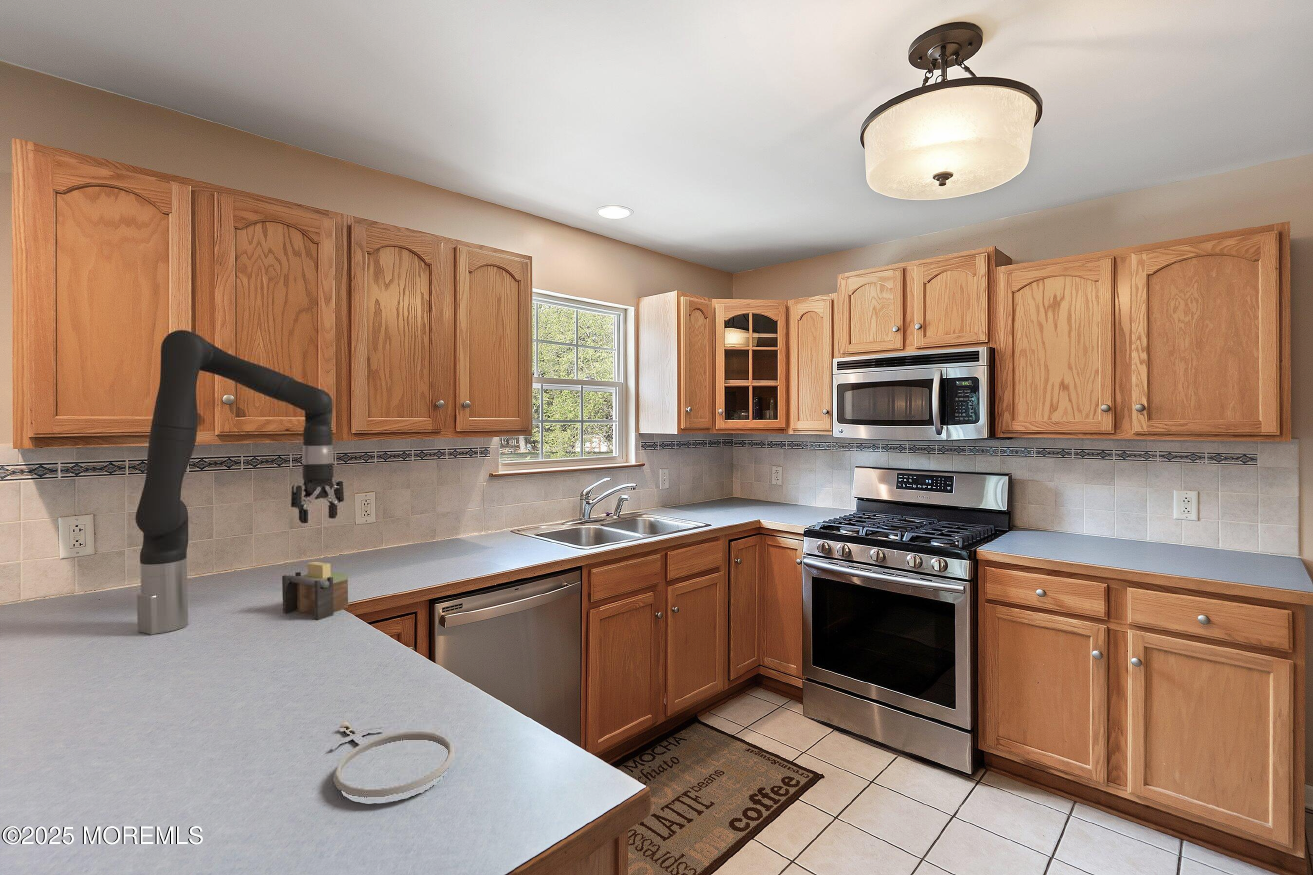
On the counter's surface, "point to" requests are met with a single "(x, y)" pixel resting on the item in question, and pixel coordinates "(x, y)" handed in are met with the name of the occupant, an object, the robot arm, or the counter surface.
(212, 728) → the counter surface
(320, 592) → the chest
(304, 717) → the counter surface
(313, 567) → the lid
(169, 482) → the robot arm
